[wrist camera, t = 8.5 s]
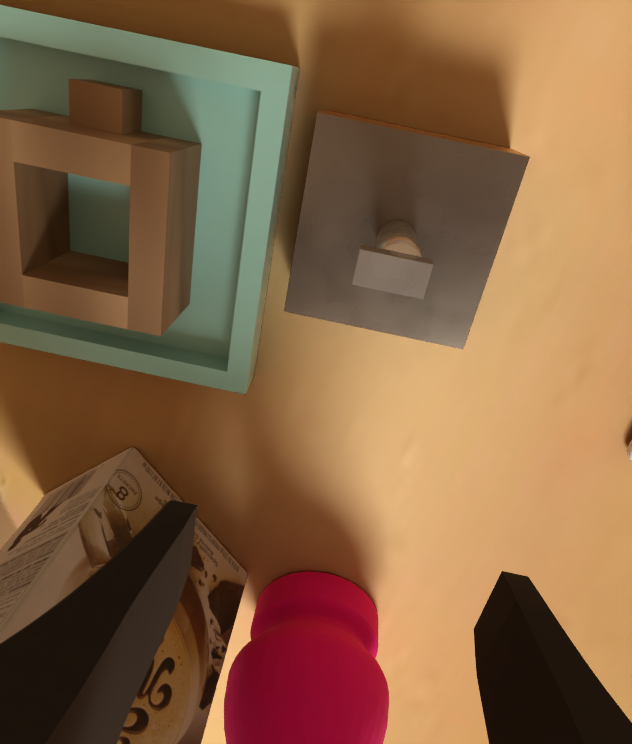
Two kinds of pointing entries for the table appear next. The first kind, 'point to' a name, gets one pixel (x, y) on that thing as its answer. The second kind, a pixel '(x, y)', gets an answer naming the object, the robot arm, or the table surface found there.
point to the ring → (51, 211)
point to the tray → (215, 192)
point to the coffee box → (92, 551)
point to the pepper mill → (309, 667)
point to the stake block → (399, 227)
